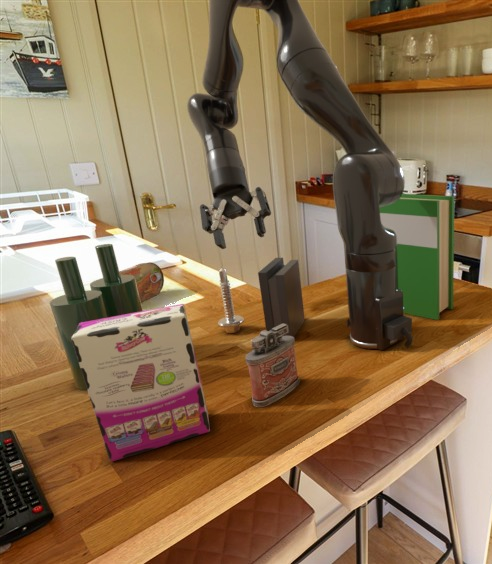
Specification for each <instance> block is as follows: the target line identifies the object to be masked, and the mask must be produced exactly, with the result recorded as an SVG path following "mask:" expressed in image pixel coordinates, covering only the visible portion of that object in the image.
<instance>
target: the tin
mask: <svg viewBox="0 0 492 564" xmlns="http://www.w3.org/2000/svg"><path fill="white" fill-rule="evenodd" d="M119 272H120V275H132V276H134V277H135V280H136V284H137V288H138V292H139V296H140V300H141V303H143V302H145V301H148V300H149V299H151V298H153V297H156V296H157V295H159V294H160V293H161V292H162V289H163V288H164V285H165V277H164V272H163V271H162V269H161V267H160V266H159V265H158V264H156V263H154V262H144V263H138V264H135V265H133V266H130V267H127V268H125V269H123V270H119Z"/></svg>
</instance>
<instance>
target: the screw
mask: <svg viewBox="0 0 492 564" xmlns="http://www.w3.org/2000/svg"><path fill="white" fill-rule="evenodd" d="M218 275H219V276H218V277H219V282H220V283H219V285H220V286H219V288H220V294H221V297H222V298H221V300H222V305H223V308H224V309H223V311H224V316H225V317H222V318H221V319H219V320H218V321H217V327H220V328H223V329H224V331H225V332H226V334H234V333H237V332H239V331H240V330H241V328H240V325H242V324H243V323H244V322H245V318H244V317H243V316H241V315H238V314H237V315H236V314H235V309H234V308H235V307H234V303H233V302H234V301H233V295H232V289H231V286H230V285H231V283H230V280H228V273H227V270H226V268H223V267H221V268H220V269H219V270H218Z"/></svg>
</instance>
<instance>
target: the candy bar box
mask: <svg viewBox="0 0 492 564" xmlns="http://www.w3.org/2000/svg"><path fill="white" fill-rule="evenodd" d="M71 340H72V344H73V347H74V350H75V353H76V356H77V360H78V362H79V365H80V368H81V371H82V374H83V377H84V381H85V384H86V387H87V390H86V391H87V393H88V397H89V401H90V402H91V406H92V409H93V413H94V416H95V419H96V421H97V422H96V423H97V425H98V428H99V431H100V434H101V437H102V440H103V443H104V447H105V450H106V454H107V457H108V460H109V461H110V462H116V461H119V460H123V459H126V458H129V457H132V456H136V455H139V454H142V453H145V452H149V451H151V450H156V449H159V448H163V447H166V446H169V445H172V444H175V443H178V442H181V441H185V440H188V439H191V438H194V437H198V436H200V435H204V434H207V433H209V432H211V428H210V420H209V412H208V406H207V401H206V397H205V393H204V388H203V387H204V386H203V383H202V379H201V375H200V374H201V373H200V370H199V366H198V361H197V357H196V352H195V347H194V341H193V338H192V334H191V330H190V326H189V321H188V316H187V312H186V307H185V303H180V304H175V305H169V306H163V307H157V308H152V309H146V310H143V311H141V312H135V313H130V314H125V315H119V316H114V317H109V318H103V319H98V320H93V321H87V322H82V323H79V325H78V327H77V330H76V331H75V333H74V334H73V336H72V338H71Z"/></svg>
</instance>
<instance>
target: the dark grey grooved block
mask: <svg viewBox="0 0 492 564" xmlns="http://www.w3.org/2000/svg"><path fill="white" fill-rule="evenodd" d="M257 275H258V283H259V290H260V296H261V303H262V310H263V318H264V324H265V330H266V331H270V330H272V328H274V327H277V326H279V325H281V324H286V325H288V331H289V332H288V333H286V334H284V335H282V336H292V337H294V338H295V336H296V335H297V334H298V332H299V330H300V328H301V327H302V325H303V323H304V322H305V320H306V318H305V309H304V301H303V292H302V282H301V272H300V263H299V259H290V260H289V261H288V262H287V263H286V264H285V263H284V257H275V258H274V259H272V260H271V261H270V262H269V263H267V265H266V266H264V267H263V268H262V269H261V270H259V271H258V272H257Z"/></svg>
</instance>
